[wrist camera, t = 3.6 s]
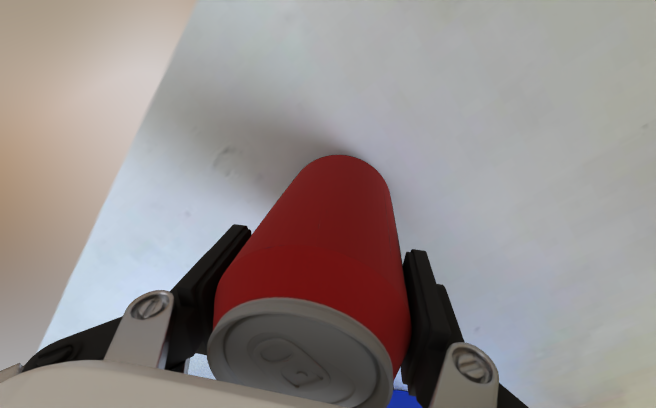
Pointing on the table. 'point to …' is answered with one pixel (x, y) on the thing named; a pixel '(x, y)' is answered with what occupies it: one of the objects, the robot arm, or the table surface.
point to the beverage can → (317, 293)
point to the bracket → (403, 400)
